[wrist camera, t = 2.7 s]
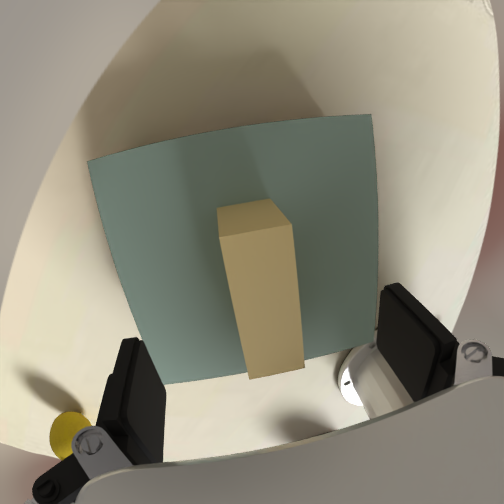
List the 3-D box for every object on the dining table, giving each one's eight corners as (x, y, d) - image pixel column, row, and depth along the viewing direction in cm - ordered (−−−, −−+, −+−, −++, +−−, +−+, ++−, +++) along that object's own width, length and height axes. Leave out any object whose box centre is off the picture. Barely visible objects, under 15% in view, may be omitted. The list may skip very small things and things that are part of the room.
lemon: (108, 423, 32) (97, 474, 25) (78, 428, 33) (65, 474, 25) (81, 395, 30) (64, 447, 23) (51, 401, 30) (33, 449, 23)
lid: (363, 114, 17) (420, 113, 12) (368, 334, 24) (402, 384, 18) (93, 159, 16) (45, 175, 11) (163, 376, 23) (156, 436, 17)
